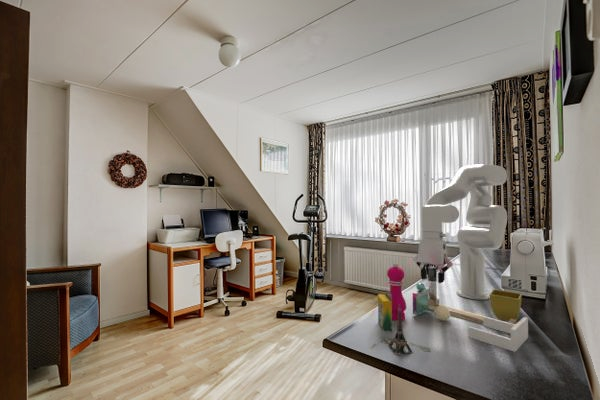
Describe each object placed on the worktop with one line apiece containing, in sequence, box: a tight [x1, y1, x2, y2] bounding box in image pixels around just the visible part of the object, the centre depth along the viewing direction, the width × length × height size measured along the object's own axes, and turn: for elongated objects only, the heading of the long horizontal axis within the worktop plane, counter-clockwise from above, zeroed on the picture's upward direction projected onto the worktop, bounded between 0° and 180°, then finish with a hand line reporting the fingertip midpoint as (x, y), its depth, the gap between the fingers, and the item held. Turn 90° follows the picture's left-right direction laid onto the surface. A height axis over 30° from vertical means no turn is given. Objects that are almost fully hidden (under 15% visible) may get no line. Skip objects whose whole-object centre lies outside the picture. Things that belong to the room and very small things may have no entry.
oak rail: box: [428, 303, 517, 325], centre depth 105 cm, size 4×32×3 cm, turn 39°
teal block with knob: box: [412, 266, 441, 316], centre depth 110 cm, size 16×4×15 cm, turn 129°
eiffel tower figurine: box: [370, 304, 433, 356], centre depth 81 cm, size 15×10×13 cm
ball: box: [434, 305, 451, 322], centre depth 102 cm, size 5×5×5 cm
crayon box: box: [377, 289, 393, 332], centre depth 96 cm, size 7×3×12 cm, turn 178°
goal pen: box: [467, 315, 529, 353], centre depth 89 cm, size 14×12×6 cm
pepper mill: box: [386, 262, 407, 322], centre depth 104 cm, size 7×7×20 cm
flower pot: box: [488, 289, 523, 322], centre depth 103 cm, size 9×9×9 cm
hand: (432, 280), depth 114 cm, fingers open, 6 cm apart
